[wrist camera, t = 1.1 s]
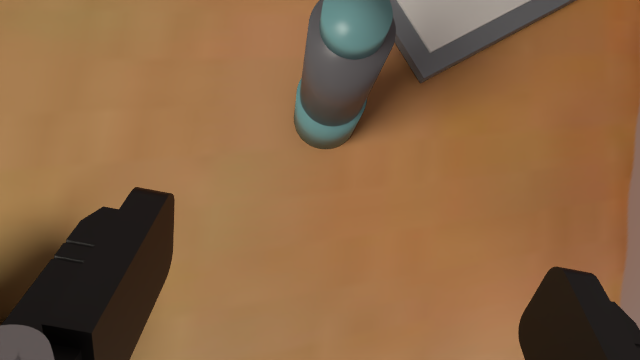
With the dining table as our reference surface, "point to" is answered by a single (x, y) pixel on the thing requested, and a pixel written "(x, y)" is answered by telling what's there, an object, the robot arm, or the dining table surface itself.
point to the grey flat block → (459, 28)
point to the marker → (341, 67)
